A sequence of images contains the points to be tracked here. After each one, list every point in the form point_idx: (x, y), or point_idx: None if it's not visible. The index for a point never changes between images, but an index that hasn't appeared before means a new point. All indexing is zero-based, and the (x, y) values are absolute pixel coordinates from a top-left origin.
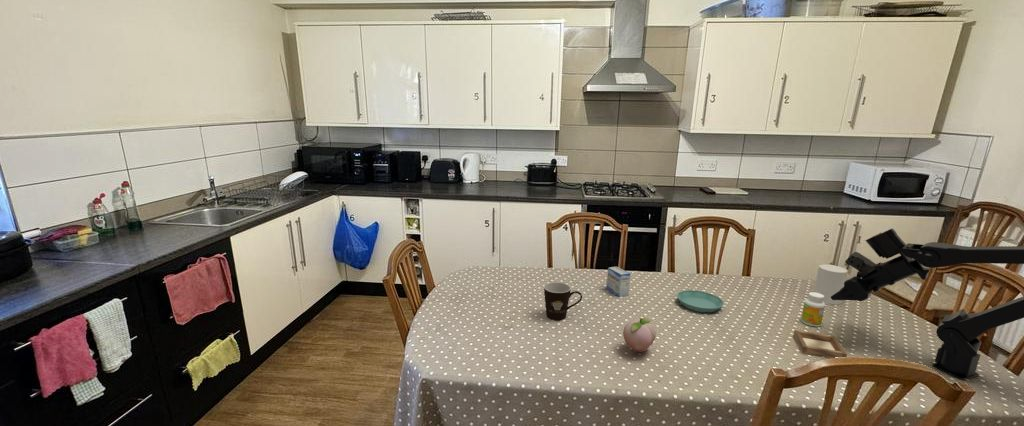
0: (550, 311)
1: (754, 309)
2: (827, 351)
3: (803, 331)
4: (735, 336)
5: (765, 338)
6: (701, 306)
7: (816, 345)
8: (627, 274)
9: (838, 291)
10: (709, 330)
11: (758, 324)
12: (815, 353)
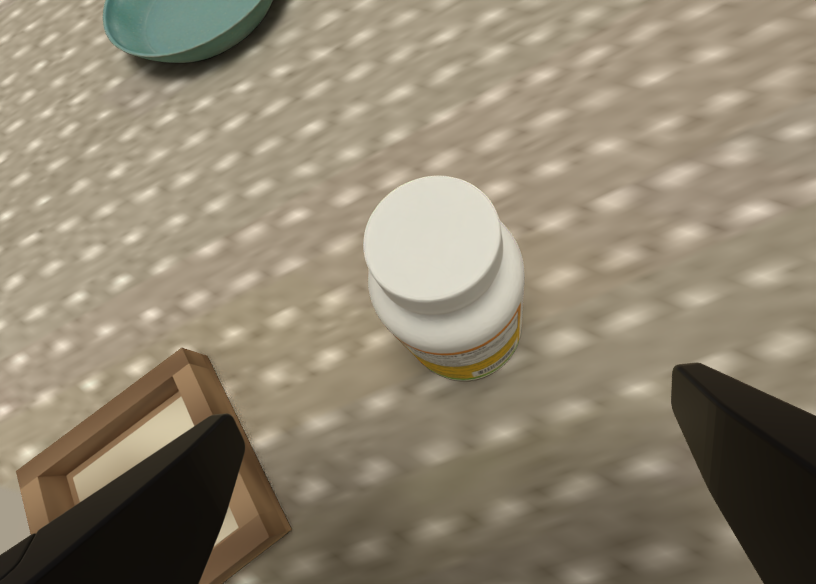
0: None
1: (364, 103)
2: None
3: (197, 385)
4: (36, 231)
5: (94, 300)
6: (196, 19)
7: None
8: None
9: (39, 529)
10: (26, 161)
11: (211, 207)
12: None
